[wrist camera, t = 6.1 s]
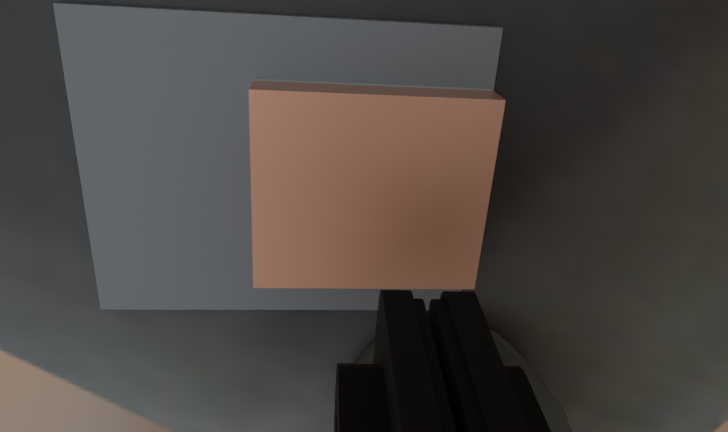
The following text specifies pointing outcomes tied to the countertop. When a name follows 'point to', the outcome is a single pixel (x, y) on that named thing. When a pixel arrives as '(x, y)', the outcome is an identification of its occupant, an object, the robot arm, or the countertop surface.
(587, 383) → the countertop surface
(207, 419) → the countertop surface
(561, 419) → the bottle
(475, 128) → the tile
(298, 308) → the mat
